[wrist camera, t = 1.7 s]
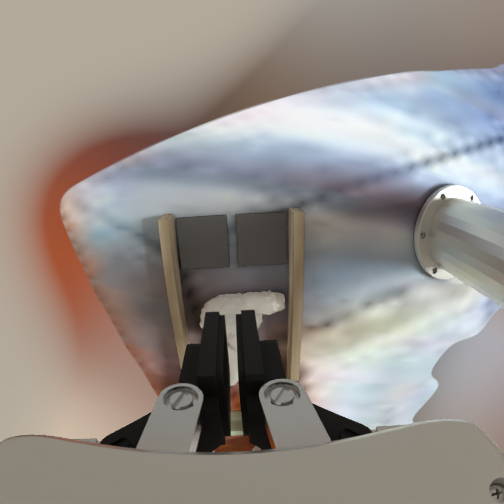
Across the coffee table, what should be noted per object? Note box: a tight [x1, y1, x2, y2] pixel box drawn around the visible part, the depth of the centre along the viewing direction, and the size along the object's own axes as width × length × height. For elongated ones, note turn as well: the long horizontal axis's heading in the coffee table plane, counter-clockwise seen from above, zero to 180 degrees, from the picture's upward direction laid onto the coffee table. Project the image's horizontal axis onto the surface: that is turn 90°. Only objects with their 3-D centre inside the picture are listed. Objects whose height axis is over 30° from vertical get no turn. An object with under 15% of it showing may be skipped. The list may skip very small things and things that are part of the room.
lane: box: [158, 208, 304, 436], centre depth 34 cm, size 14×30×4 cm, turn 2°
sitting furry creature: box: [199, 290, 285, 386], centre depth 29 cm, size 10×9×12 cm
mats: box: [176, 212, 287, 269], centre depth 32 cm, size 11×6×1 cm, turn 92°
